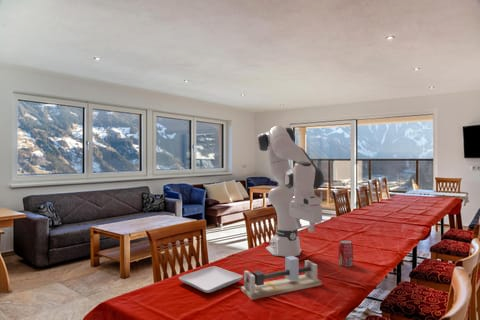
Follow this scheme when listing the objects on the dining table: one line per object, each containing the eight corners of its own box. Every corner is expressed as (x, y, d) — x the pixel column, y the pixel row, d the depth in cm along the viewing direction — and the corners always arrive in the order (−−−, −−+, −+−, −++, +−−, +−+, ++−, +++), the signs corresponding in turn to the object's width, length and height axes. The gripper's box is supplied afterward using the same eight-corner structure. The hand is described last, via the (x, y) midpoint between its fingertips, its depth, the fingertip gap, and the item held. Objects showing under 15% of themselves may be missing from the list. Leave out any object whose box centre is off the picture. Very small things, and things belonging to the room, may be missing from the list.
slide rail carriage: (285, 277, 142) (285, 257, 142) (293, 276, 144) (292, 255, 144) (290, 281, 138) (290, 260, 138) (298, 279, 140) (298, 258, 140)
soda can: (341, 261, 171) (341, 239, 171) (355, 264, 166) (355, 241, 166) (336, 265, 165) (336, 242, 165) (350, 268, 161) (350, 244, 161)
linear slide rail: (241, 290, 137) (240, 270, 136) (308, 276, 150) (307, 258, 150) (251, 299, 127) (251, 278, 127) (321, 284, 141) (321, 265, 141)
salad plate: (177, 284, 145) (177, 276, 145) (213, 271, 160) (213, 264, 160) (207, 298, 130) (206, 290, 130) (244, 283, 145) (244, 275, 145)
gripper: (285, 196, 152) (286, 226, 152) (312, 201, 133) (312, 235, 133) (297, 195, 154) (297, 224, 154) (324, 200, 135) (325, 233, 135)
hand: (304, 229), depth 143 cm, fingers open, 8 cm apart
